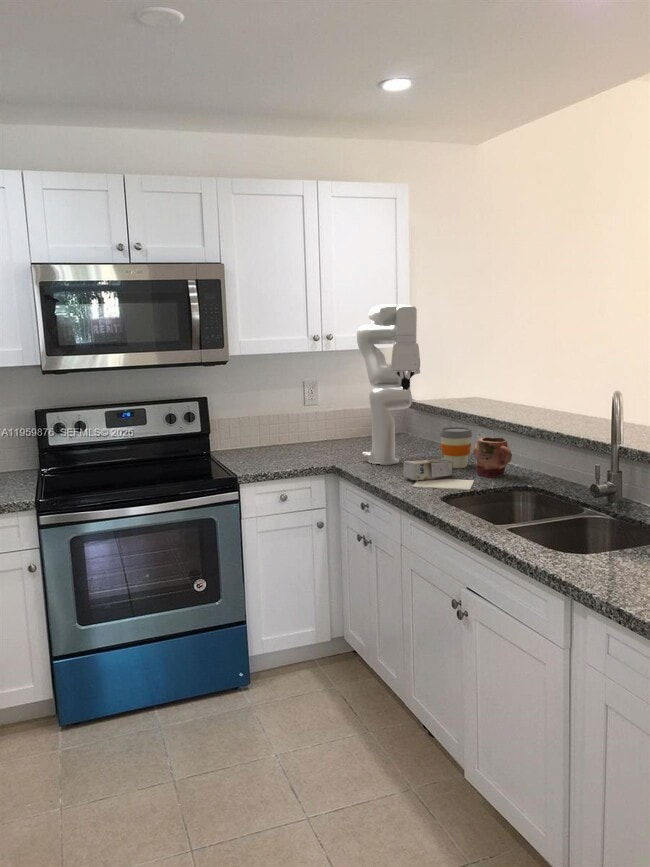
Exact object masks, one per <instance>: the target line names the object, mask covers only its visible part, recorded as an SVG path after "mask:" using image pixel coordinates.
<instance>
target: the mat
mask: <svg viewBox="0 0 650 867" xmlns="http://www.w3.org/2000/svg"><path fill="white" fill-rule="evenodd" d="M474 483H475V480H474V479H458V478H457V479H454V478H452V479H429V480H415V483H414V484H413V485H412V488H413V487H424V488H423V489H433V488H437V490H453V489H454V490H457V491H471V490H472V489H471V488H472V487H473V485H474Z"/></svg>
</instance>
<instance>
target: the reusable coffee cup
mask: <svg viewBox="0 0 650 867" xmlns="http://www.w3.org/2000/svg"><path fill="white" fill-rule="evenodd" d="M439 437H440V438H441V442H440V447H441V449H440V450H441V454H442V456H443V460H446V461H451V462H453V469H463V468H466V467H468V462H469V455H470V454H471V448H472V443H471V439H472V437H473V432H472V429H471V428H469V427H463V426H462V427H461V426H449V427H443V428H441V429H440V433H439Z"/></svg>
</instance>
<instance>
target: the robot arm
mask: <svg viewBox="0 0 650 867" xmlns="http://www.w3.org/2000/svg"><path fill="white" fill-rule="evenodd" d="M417 313H418V312H417V307H416V306H415V305H409V304H379V305H376V306H373V307H372V308H371V309H370V310H369V313H368V319H369V321H370V322H371V324H364V325H362V326H360V327H359V328H358V329H357V331H356V341H357V342H356V343H357V347H358V349H359V351H360V353H361V355H362V357H363V359H364V363H365V367H366V371H367V376H368V380H369V384H370V385H371V386H372V387H374V388H373V389H371V391H370V393H369V396H368V397H369V398H368V399H369V405H370V411H371V451H369V452H367V451H363V452H362V457H364V458H369V459H368V463H369V464H371V463H372V464H371V465H376V464H380V465H379V466H388V465H389V466H390V465H391V466H392V465H395V464H396V465H397V464H399V462H400V460H399V458H398V457H396V421H395V418H394V416H393V415H392V414H391V412H390V411H391V410H406V409H408V408H410V407H411V405H412V403H413V395H412V391H411V378H413V376H415V375H419V374H420V373H421V360H420V359H421V358H420V357H421V355H420V347H419V343H417V323H418V322H417V321H418V320H417V318H418V316H417ZM392 344H393V345H392ZM376 345H392V351H391V352H392V353H391V364H388V363H386V358H385V354H384V353H383V352H382V351H381V350H380V349H379V348H378V347H377V346H376Z"/></svg>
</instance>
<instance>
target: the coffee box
mask: <svg viewBox="0 0 650 867" xmlns="http://www.w3.org/2000/svg"><path fill="white" fill-rule="evenodd" d="M453 469H454V468H453V462H451V461H446V460H444V459H425V460H424V459H423V460H403V478H405V479H409V480H412V481H417V480H429V479H453V472H454V471H453Z"/></svg>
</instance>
